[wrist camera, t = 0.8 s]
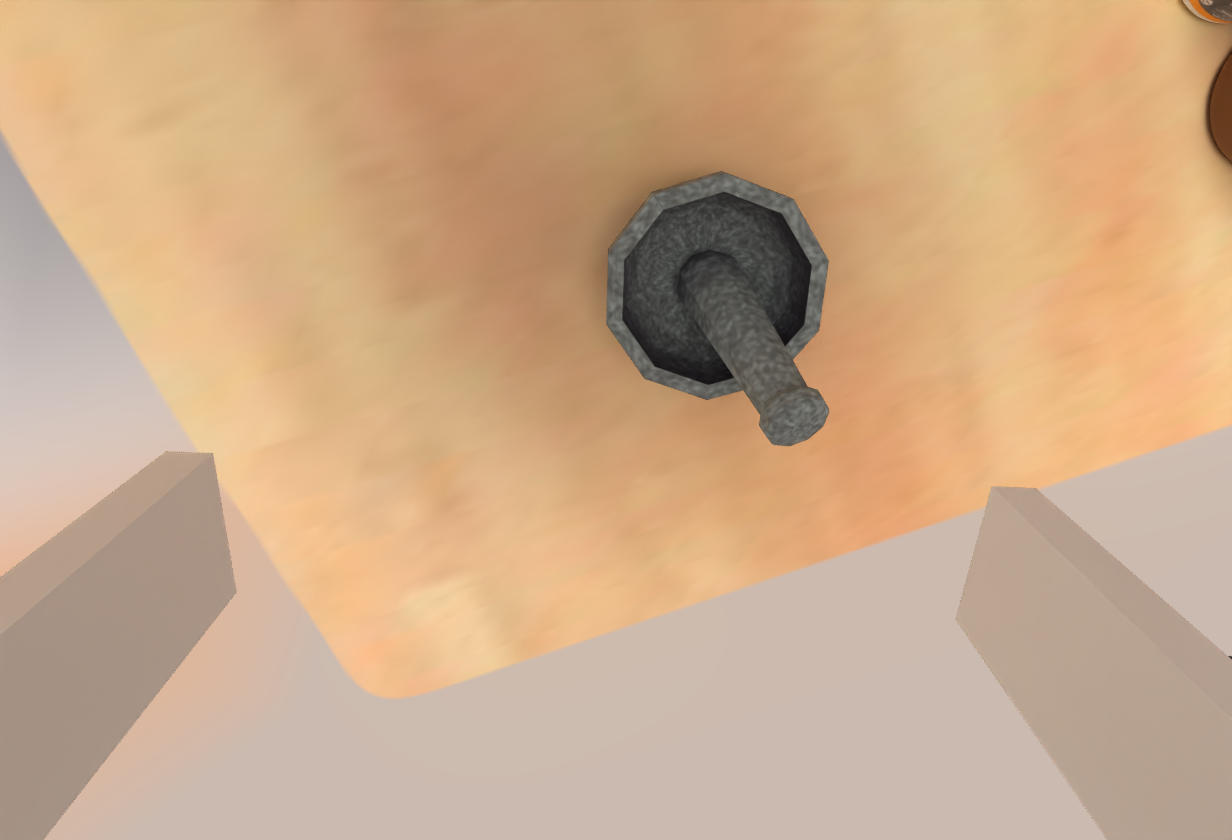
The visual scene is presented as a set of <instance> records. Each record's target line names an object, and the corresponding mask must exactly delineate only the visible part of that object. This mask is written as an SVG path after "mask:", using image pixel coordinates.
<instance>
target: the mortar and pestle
mask: <svg viewBox="0 0 1232 840" xmlns="http://www.w3.org/2000/svg"><path fill="white" fill-rule="evenodd" d="M828 262H829V261H828V259H827V257H826V255H825V254H824V252H823V250H822V248H821V247H820V245H819V243H818V241H817V239H816V238H815V236H814V234H813V232H812V231H811V229H810V227H809V225H808V224H807V222H806V220H805V218H804V217H803V215H802V213H801V211H800V209H799V208H798V206H797V204H796V202H795V201H794V199H792V198H789V197H787V196H785V195H782V194H779V193H777V192H774V191H772V190H769V189H766V188H764V187H761V186H759V185H756V184H754V183H751V182H748V181H746V180H743V179H741V178H738V177H735V176H733V175H730V174H728V173H725V172H722V171H720V172H716V173H713V174H710V175H707V176H703V177H700V178H697V179H693V180H690V181H687V182H683V183H680V184H677V185H673V186H670V187H667V188H664V189H660V190H657V191H654V192H652V193H651V194H650V195H649V196H648V198H647V199H646V200H645V202H644V203H643V204H642V206H641V207H640V208H639V210H638V211H637V212H636V214H635V215H634V216H633V217H632V219H631V220H630V221H629V223H628V224H627V225H626V227H625V228H624V229H623V231H622V232H621V233H620V235H619V236H618V237H617V239H616V240H615V241H614V242H613V244H612V245H611V246H610V248H609V249H608V283H607V326H608V327H609V329H610V330H611V332H612V333H613V334H614V336H615V337H616V339H617V340H618V341H619V343H620V344H621V346H622V347H623V349H624V350H625V351H626V353H627V354H628V356H629V357H630V359H631V360H632V361H633V363H634V364H635V366H636V367H637V368H638V370H639V371H640V373H641V374H642V376H643V377H644V378H645V379H647V380H650V381H653V382H656V383H659V384H662V385H665V386H668V387H671V388H674V389H677V390H679V391H682V392H685V393H688V394H691V395H694V396H697V397H700V398H703V399H706V400H708V399H712V398H716V397H719V396H723V395H727V394H730V393H734V392H738V391H741V390H744V392H745V393H746V395H747V396H748V398H749V399H750V401H751V402H752V403H753V405H754V406H755V408H756V409H757V411H758V412H759V414H760V415H761V416H760V423H759V426H760V427H761V429H762V431H763V432H764V434H765V435H766V437H767V438H768V439H769V441H770V442H771V443H772V444H773V445H782V446H791V445H794V444H797V443H799V442H802V441H805V440H807V439H809V438H810V437H811V436H812V435H814V434H815V433H816V432H817V431H818V430H819V429H821V428H822V427H823V425H824V423H825V421H826V418H827V416H828V414H829V408H828V406H827V405H826V403H825V401H824V399H823V398H822V396H821V394H820V393H819V391H818V390H816V389H813V388H810V387H808V386H807V385H806V383H805V381H804V379H803V378H802V376H801V374H800V372H799V370H798V369H797V367H796V365H795V363H794V362H793V359H794V358H795V356H796V355H797V354H798V353H799V352H800V351H801V350H802V349H803V348H804V346H805V345H806V344H807V343H808V342H809V341H810V340H811V339H812V338H813V336H814V335H815V334H816V333H817V332H818V331H819V327H820V319H821V312H822V305H823V298H824V291H825V283H826V276H827V269H828Z"/></svg>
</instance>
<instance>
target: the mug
mask: <svg viewBox="0 0 1232 840" xmlns="http://www.w3.org/2000/svg"><path fill="white" fill-rule="evenodd" d="M1210 124H1211V129H1212V133H1213V136H1214V139H1215V141H1216V143H1217V145H1218V147H1219V148H1220V150H1221V151H1222V153H1223V154H1224V155H1225V156H1226V157H1227V158H1228V159H1229V160H1230V161H1232V54H1231V55H1230V57H1229V58H1228V60H1227V61H1226V63H1225V64H1224V66H1223V68H1222V70H1221V72H1220V74H1219V76H1218V78H1217V81H1216V84H1215V86H1214V90H1213V94H1212V97H1211V104H1210Z"/></svg>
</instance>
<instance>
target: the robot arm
mask: <svg viewBox="0 0 1232 840" xmlns="http://www.w3.org/2000/svg"><path fill="white" fill-rule="evenodd" d="M235 594H236V586H235V580H234V574H233V568H232V562H231V556H230V551H229V545H228V539H227V533H226V527H225V521H224V516H223V510H222V504H221V498H220V492H219V486H218V480H217V474H216V469H215V463H214V457H213V453H191V452H168V451H166V452H165V453H163V454H162V455H161V456H159V457H158V458H157V459H155V460H154V461H153V462H151V463H150V464H149V465H148V466H146V467H145V468H144V469H142V470H141V471H140V472H139V473H137V474H136V475H134V476H133V477H132V478H130V479H129V480H128V481H126V483H124V484H122V485H121V486H120V487H119V488H117V489H116V490H115V491H114V492H112V493H111V494H109V495H108V496H107V497H105V498H104V499H103V500H101V501H100V502H99V503H98V504H96V505H95V506H94V507H92V508H91V509H90V510H88V511H87V512H86V513H84V514H83V515H82V516H80V517H79V518H78V519H76V520H75V521H74V522H72V523H71V524H70V525H68V526H67V527H66V528H65V529H63V530H62V531H61V532H59V533H58V534H57V535H56V536H54V537H53V538H51V539H50V540H49V541H47V542H46V543H45V544H43V545H42V546H41V547H40V548H38V549H37V550H36V551H34V552H33V553H32V554H30V555H29V556H28V557H26V558H25V559H24V560H22V561H21V562H20V563H18V564H17V565H16V566H14V567H13V568H12V569H11V570H10V571H8V572H7V573H5V574H4V575H3V576H1V577H0V840H44V838H45V837H46V836H47V834H48V833H49V832H50V831H51V829H52V828H53V827H54V826H55V824H56V823H57V822H58V820H59V819H60V818H61V817H62V815H63V814H64V813H65V811H66V810H67V809H68V808H69V806H70V805H71V804H72V802H73V801H74V800H75V799H76V797H77V796H78V795H79V793H80V792H81V791H82V790H83V788H84V787H85V786H86V785H87V783H88V782H89V781H90V779H91V778H92V777H93V775H94V774H95V773H96V772H97V770H98V769H99V768H100V766H101V765H102V764H103V763H104V762H105V760H106V759H107V758H108V756H109V755H110V754H111V752H112V751H113V750H114V749H115V747H116V746H117V745H118V743H119V742H120V741H121V740H122V738H123V737H124V736H125V735H126V733H127V732H128V731H129V729H130V728H131V727H132V725H133V724H134V723H135V722H136V720H137V719H138V718H139V717H140V715H141V714H142V713H143V711H144V710H145V709H146V708H147V706H148V705H149V704H150V703H151V701H152V700H153V699H154V697H155V696H156V695H157V694H158V692H159V691H160V690H161V688H162V687H163V686H164V684H165V683H166V682H167V681H168V680H169V678H170V677H171V676H172V674H173V673H174V672H175V671H176V669H177V668H178V667H179V665H180V664H181V663H182V662H183V660H184V659H185V658H186V656H187V655H188V654H189V653H190V651H191V650H192V649H193V647H194V646H195V645H196V644H197V642H198V641H199V640H200V638H201V637H202V636H203V634H204V633H205V632H206V631H207V630H208V628H209V627H210V626H211V624H212V623H213V622H214V621H215V619H216V618H217V617H218V615H219V614H220V613H221V612H222V610H223V609H224V608H225V606H226V605H227V604H228V603H229V601H230V600H231V599H232V598H233V596H234V595H235ZM956 621H957V622H958V623H959V625H960V627H961V628H962V629H963V631H964V632H965V634H966V635H967V637H968V638H969V640H970V641H971V643H972V644H973V645H974V647H975V648H976V650H977V651H978V653H979V654H980V655H981V657H982V658H983V660H984V661H985V663H986V664H987V666H988V667H989V668H990V670H991V672H992V673H993V674H994V676H995V677H996V679H997V680H998V682H999V683H1000V685H1001V686H1002V688H1003V689H1004V690H1005V692H1006V693H1007V695H1008V696H1009V698H1010V699H1011V701H1012V702H1013V704H1014V705H1015V707H1016V708H1017V709H1018V711H1019V712H1020V714H1021V715H1022V717H1023V718H1024V720H1025V721H1026V722H1027V724H1028V725H1029V727H1030V728H1031V730H1032V731H1033V733H1034V734H1035V736H1036V737H1037V738H1038V740H1039V741H1040V743H1041V744H1042V746H1043V747H1044V749H1045V750H1046V751H1047V753H1048V755H1049V756H1050V757H1051V759H1052V760H1053V762H1054V763H1055V765H1056V766H1057V768H1058V769H1059V771H1060V772H1061V773H1062V775H1063V776H1064V778H1065V779H1066V780H1067V782H1068V784H1069V785H1070V787H1071V788H1072V789H1073V791H1074V792H1075V794H1076V795H1077V797H1078V798H1079V800H1080V801H1081V803H1082V804H1083V806H1084V807H1085V808H1086V810H1087V811H1088V813H1089V814H1090V816H1091V817H1092V819H1093V820H1094V821H1095V823H1096V824H1097V826H1098V827H1099V829H1100V830H1101V832H1102V833H1103V835H1104V836H1105V838H1106V839H1107V840H1232V656H1227V655H1226V654H1225V653H1224V652H1222V651H1221V650H1220V649H1219V648H1218V647H1217V646H1215V645H1214V644H1213V643H1212V642H1211V641H1210V640H1209V639H1207V638H1206V637H1205V636H1204V635H1203V634H1202V633H1201V632H1200V631H1198V630H1197V629H1196V628H1195V627H1193V625H1191V624H1190V623H1189V622H1188V621H1187V620H1186V619H1185V618H1183V617H1182V616H1181V615H1180V614H1179V613H1178V612H1177V611H1176V610H1174V609H1173V608H1172V607H1171V606H1170V605H1169V604H1167V603H1166V602H1165V601H1164V600H1163V599H1162V598H1161V597H1160V596H1158V595H1157V594H1156V593H1155V592H1154V591H1153V590H1152V589H1150V588H1149V587H1148V586H1147V585H1146V584H1145V583H1143V582H1142V581H1141V580H1140V579H1139V578H1138V577H1137V576H1136V575H1134V574H1133V573H1132V572H1131V571H1130V570H1129V569H1127V568H1126V567H1125V566H1124V565H1123V564H1122V563H1121V562H1120V561H1118V560H1117V559H1116V558H1115V557H1114V556H1113V555H1111V554H1110V553H1109V552H1108V551H1107V550H1106V549H1105V548H1103V547H1102V546H1101V545H1100V544H1099V543H1098V542H1097V541H1095V540H1094V539H1093V538H1092V537H1091V536H1090V535H1089V534H1087V533H1086V532H1085V531H1084V530H1083V529H1082V528H1081V527H1079V526H1078V525H1077V524H1076V523H1075V522H1074V521H1073V520H1071V519H1070V518H1069V517H1068V516H1067V515H1066V514H1065V513H1063V512H1062V511H1061V510H1060V509H1059V508H1058V507H1057V506H1055V505H1054V504H1053V503H1052V502H1051V501H1050V500H1048V499H1047V498H1046V497H1045V496H1044V495H1043V494H1042V493H1041V492H1039V491H1038V490H1037V489H1036V488H1017V487H994V486H992V487H991V491H990V494H989V498H988V502H987V505H986V509H985V513H984V517H983V520H982V524H981V527H980V531H979V535H978V539H977V542H976V546H975V549H974V553H973V557H972V560H971V564H970V568H969V571H968V575H967V579H966V582H965V586H964V589H963V593H962V597H961V600H960V605H959V608H958V612H957V615H956Z"/></svg>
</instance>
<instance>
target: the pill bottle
mask: <svg viewBox="0 0 1232 840" xmlns="http://www.w3.org/2000/svg"><path fill="white" fill-rule="evenodd" d="M1183 2H1184V4H1185V5H1186V6H1187V7H1188V9H1189V10H1190V11H1191V12H1193V13H1194V14H1195V15H1196V16H1198V17H1200V18H1201V19H1204V20H1206V21H1209V22H1214V23H1232V0H1183Z"/></svg>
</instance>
